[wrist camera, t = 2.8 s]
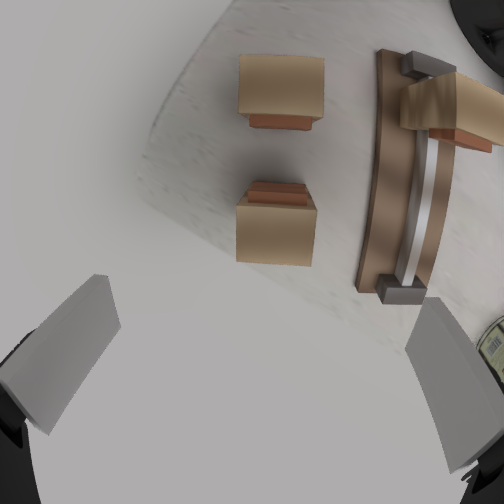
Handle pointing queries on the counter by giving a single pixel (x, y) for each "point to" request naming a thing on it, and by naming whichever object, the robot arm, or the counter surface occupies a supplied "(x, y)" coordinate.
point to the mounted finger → (454, 111)
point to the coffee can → (493, 347)
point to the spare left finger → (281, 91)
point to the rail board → (404, 189)
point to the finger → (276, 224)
